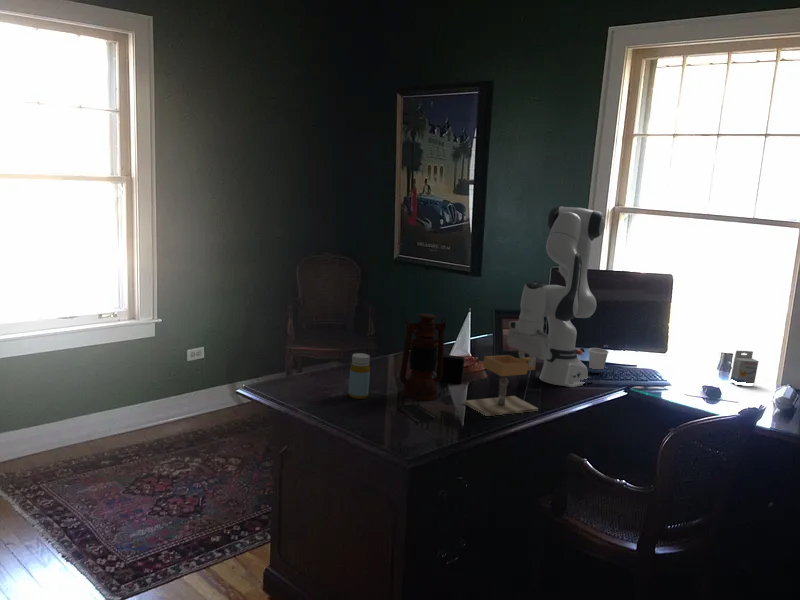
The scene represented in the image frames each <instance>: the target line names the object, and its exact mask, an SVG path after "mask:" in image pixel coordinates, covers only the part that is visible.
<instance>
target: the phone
mask: <svg viewBox="0 0 800 600" xmlns="http://www.w3.org/2000/svg"><path fill="white" fill-rule="evenodd" d="M397 409H398V411H400V412H402V413H403V414H405V415H406V416H407V417H409V418H411V419H412V420H413V421H415V422H416V421H417V422H416V423H418V422H419V423H418V424H425V422H426V423H433V421H434V422H438V421H439V417H438V416H436V415H435V414H433V413H431V412H430V411H428V410H426V409H425V408H423V407H422V406H420V405H419V404H417V403H415V404H414V403H411V404H404V405H398V406H397Z"/></svg>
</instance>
